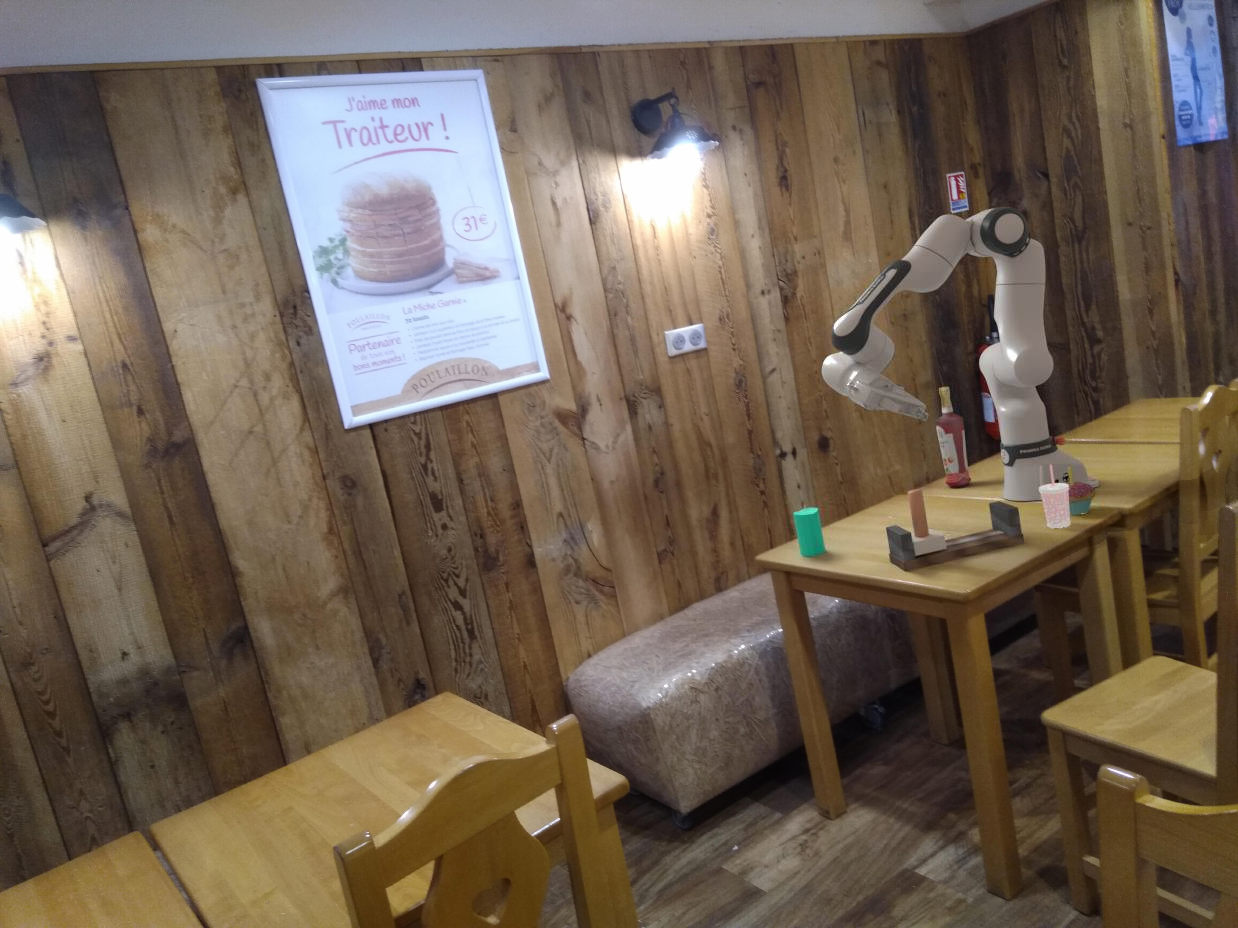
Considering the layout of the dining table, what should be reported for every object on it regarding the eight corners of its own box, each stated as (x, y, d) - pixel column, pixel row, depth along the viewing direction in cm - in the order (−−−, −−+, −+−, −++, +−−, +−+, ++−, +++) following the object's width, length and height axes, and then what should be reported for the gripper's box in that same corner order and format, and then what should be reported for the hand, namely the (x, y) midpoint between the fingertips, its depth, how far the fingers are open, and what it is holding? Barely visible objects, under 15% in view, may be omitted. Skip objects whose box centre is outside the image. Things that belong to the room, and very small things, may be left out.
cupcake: (1096, 516, 201) (1089, 464, 199) (1054, 518, 206) (1047, 468, 204) (1099, 505, 208) (1092, 455, 206) (1058, 508, 213) (1052, 459, 211)
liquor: (978, 484, 249) (963, 385, 244) (954, 490, 247) (939, 391, 243) (962, 480, 256) (948, 384, 252) (939, 486, 255) (924, 390, 250)
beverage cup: (1059, 519, 204) (1051, 460, 202) (1080, 523, 198) (1072, 462, 196) (1037, 526, 202) (1029, 466, 200) (1058, 531, 197) (1050, 469, 194)
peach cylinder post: (932, 541, 200) (923, 484, 198) (946, 548, 193) (937, 490, 191) (902, 548, 199) (892, 491, 197) (915, 555, 192) (905, 497, 190)
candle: (823, 546, 222) (815, 500, 220) (827, 553, 216) (818, 505, 214) (799, 551, 222) (791, 504, 220) (802, 558, 216) (793, 510, 215)
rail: (1005, 534, 202) (1000, 500, 200) (1024, 542, 194) (1019, 507, 192) (890, 561, 200) (884, 527, 199) (904, 571, 192) (898, 535, 191)
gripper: (849, 370, 210) (889, 392, 199) (904, 387, 221) (946, 409, 211) (837, 394, 212) (877, 418, 201) (893, 410, 223) (933, 433, 213)
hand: (912, 413), depth 206 cm, fingers open, 8 cm apart
